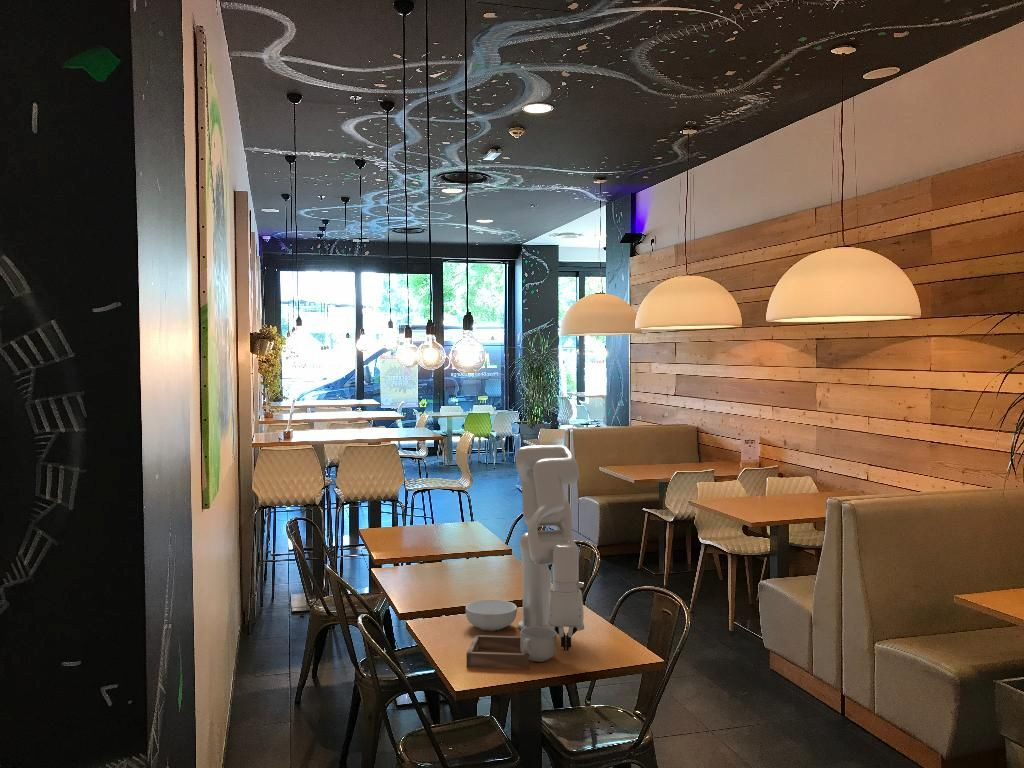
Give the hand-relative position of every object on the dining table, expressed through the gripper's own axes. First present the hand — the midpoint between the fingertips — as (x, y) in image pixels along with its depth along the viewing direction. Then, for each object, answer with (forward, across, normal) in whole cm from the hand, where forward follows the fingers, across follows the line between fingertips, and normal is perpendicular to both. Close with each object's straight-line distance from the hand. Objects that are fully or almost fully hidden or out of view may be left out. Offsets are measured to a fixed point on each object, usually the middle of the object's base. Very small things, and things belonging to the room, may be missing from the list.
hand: (566, 649), depth 238 cm
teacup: (+4, +9, 0) cm, 10 cm away
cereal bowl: (+3, +26, -30) cm, 40 cm away
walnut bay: (+3, +18, -1) cm, 19 cm away
